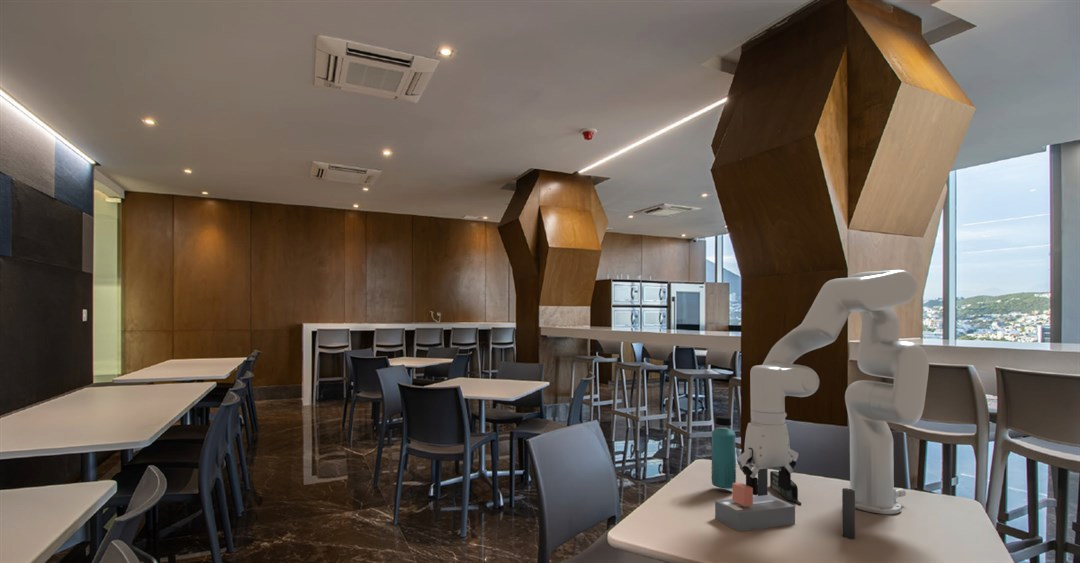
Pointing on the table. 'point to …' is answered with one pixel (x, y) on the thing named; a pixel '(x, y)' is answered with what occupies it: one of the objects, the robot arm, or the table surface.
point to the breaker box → (755, 513)
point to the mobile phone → (785, 494)
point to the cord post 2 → (848, 513)
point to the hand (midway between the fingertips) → (768, 491)
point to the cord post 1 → (763, 482)
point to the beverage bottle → (723, 454)
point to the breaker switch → (742, 494)
